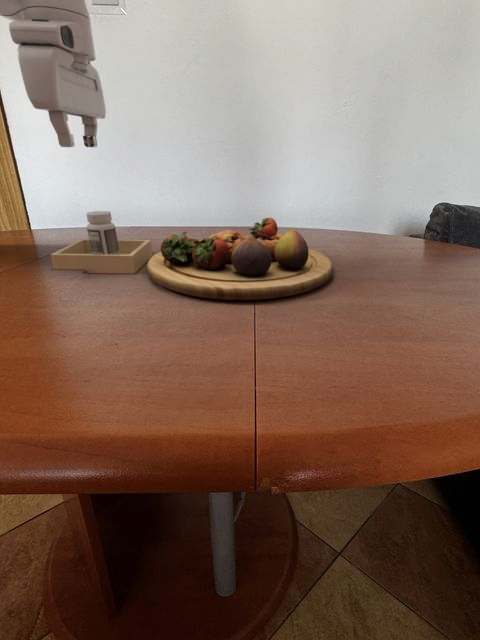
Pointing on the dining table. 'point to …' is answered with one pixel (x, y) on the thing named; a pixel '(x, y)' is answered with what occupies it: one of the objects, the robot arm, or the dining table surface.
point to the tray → (103, 257)
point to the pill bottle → (102, 233)
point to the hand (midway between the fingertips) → (80, 147)
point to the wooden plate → (240, 264)
